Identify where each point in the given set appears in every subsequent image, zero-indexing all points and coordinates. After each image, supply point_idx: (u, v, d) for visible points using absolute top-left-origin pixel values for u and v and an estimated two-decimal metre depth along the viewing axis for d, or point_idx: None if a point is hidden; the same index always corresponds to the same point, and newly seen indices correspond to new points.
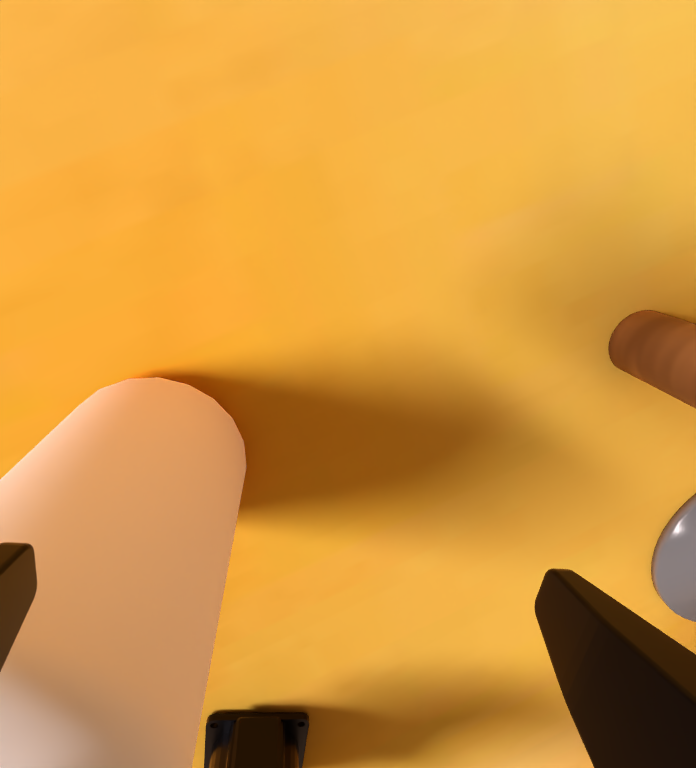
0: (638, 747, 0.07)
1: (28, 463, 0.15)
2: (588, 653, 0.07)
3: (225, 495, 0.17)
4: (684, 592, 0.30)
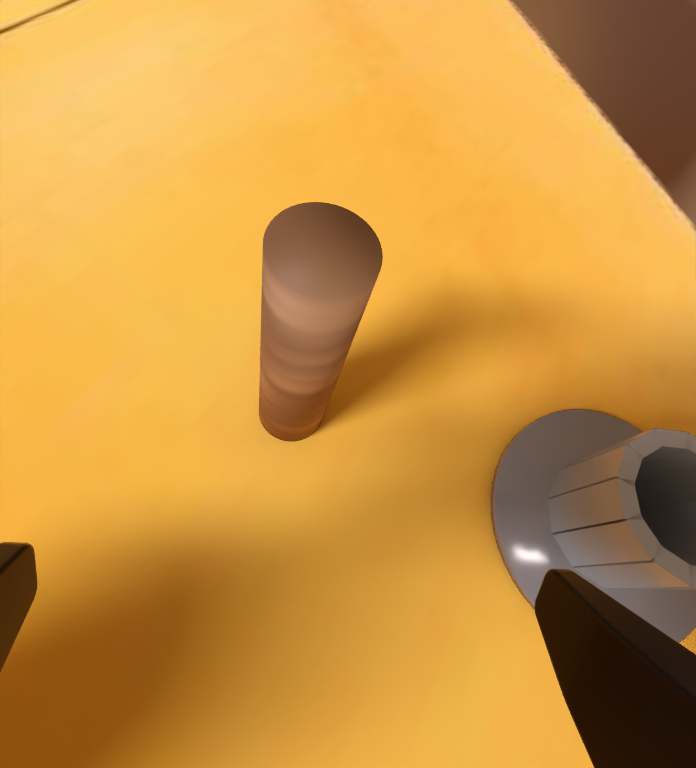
0: (638, 747, 0.07)
1: None
2: (588, 653, 0.07)
3: None
4: None
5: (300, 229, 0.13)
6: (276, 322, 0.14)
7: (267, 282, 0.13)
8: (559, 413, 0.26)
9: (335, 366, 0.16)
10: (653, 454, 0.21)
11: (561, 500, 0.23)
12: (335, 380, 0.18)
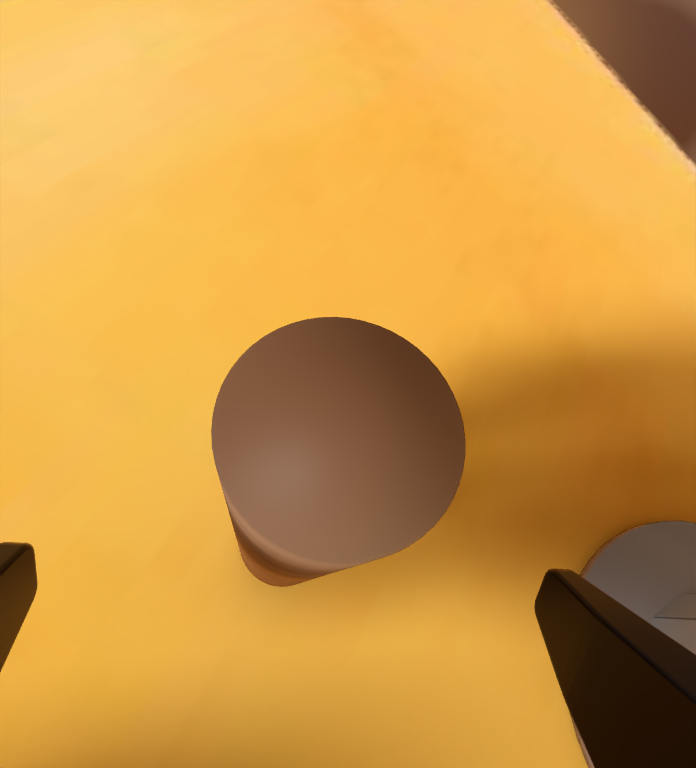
0: (638, 747, 0.07)
1: None
2: (588, 653, 0.07)
3: None
4: None
5: (294, 383, 0.06)
6: (247, 539, 0.07)
7: (225, 493, 0.06)
8: (646, 528, 0.19)
9: None
10: None
11: None
12: None
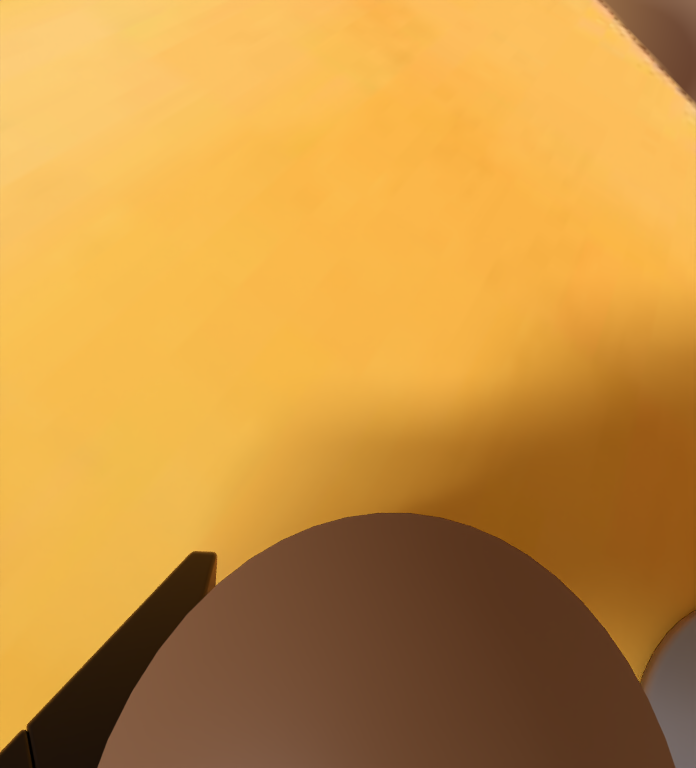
0: None
1: None
2: None
3: None
4: None
5: (289, 715, 0.02)
6: None
7: None
8: None
9: None
10: None
11: None
12: None
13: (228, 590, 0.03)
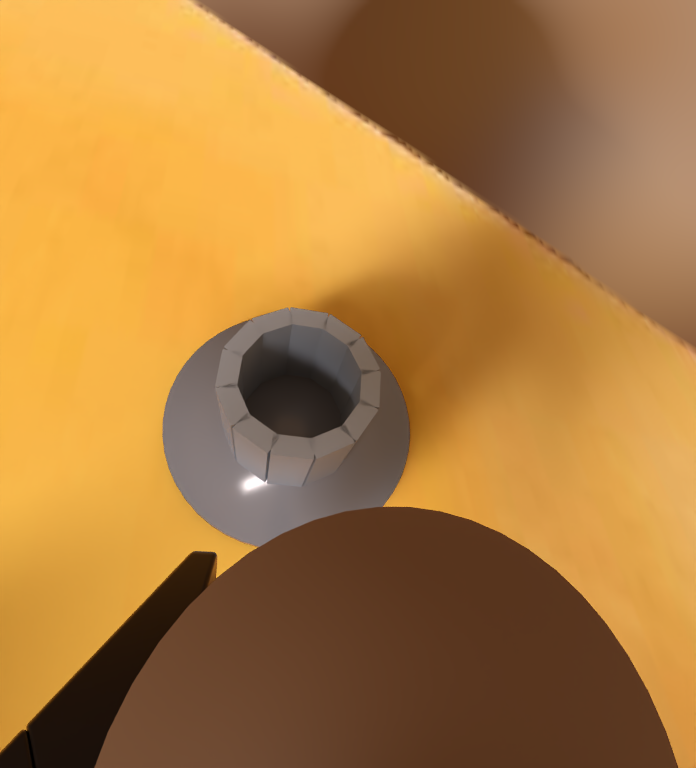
0: None
1: None
2: None
3: None
4: (310, 516, 0.21)
5: (290, 708, 0.02)
6: None
7: None
8: (216, 337, 0.24)
9: None
10: (275, 342, 0.20)
11: (223, 426, 0.21)
12: None
13: (229, 583, 0.03)
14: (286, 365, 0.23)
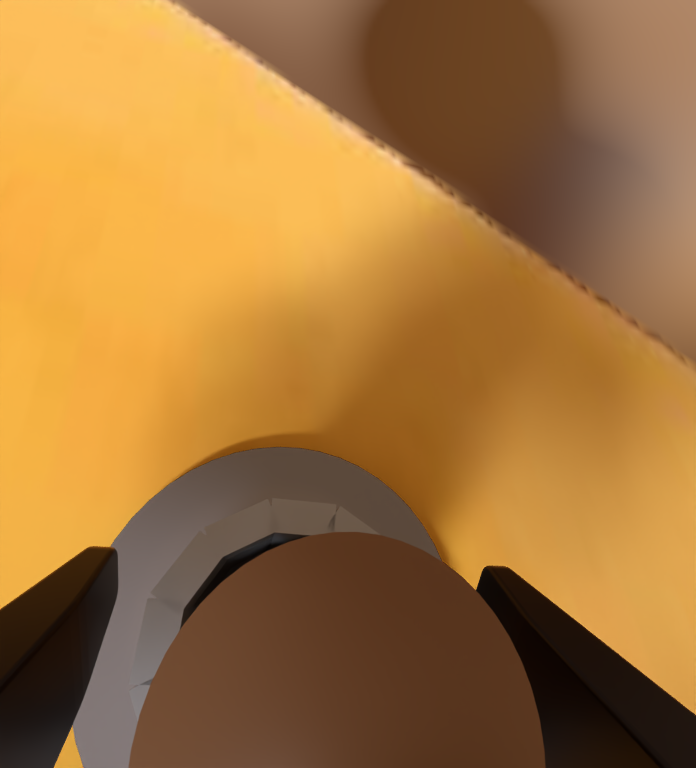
0: (555, 748, 0.06)
1: None
2: None
3: None
4: None
5: (270, 669, 0.04)
6: None
7: None
8: (165, 491, 0.16)
9: None
10: (247, 549, 0.12)
11: None
12: None
13: (229, 586, 0.04)
14: (270, 546, 0.15)
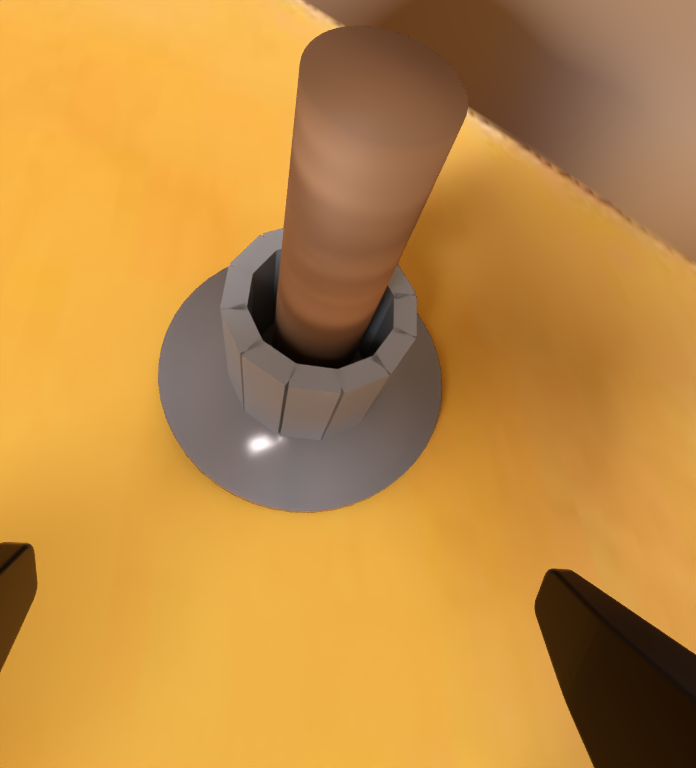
0: (638, 747, 0.07)
1: None
2: (588, 653, 0.07)
3: None
4: (331, 473, 0.18)
5: (351, 56, 0.09)
6: (311, 204, 0.10)
7: (304, 133, 0.09)
8: (219, 274, 0.21)
9: (380, 285, 0.12)
10: None
11: (229, 368, 0.18)
12: (373, 312, 0.14)
13: (332, 31, 0.09)
14: None
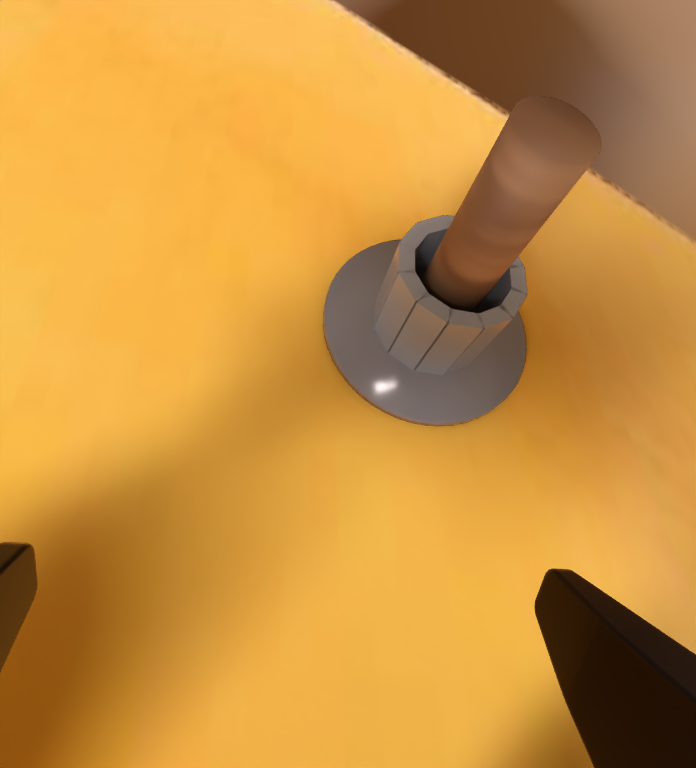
0: (638, 747, 0.07)
1: None
2: (588, 653, 0.07)
3: None
4: (453, 398, 0.25)
5: (536, 114, 0.16)
6: (501, 197, 0.17)
7: (510, 156, 0.16)
8: (358, 255, 0.28)
9: (520, 251, 0.19)
10: (429, 246, 0.24)
11: (380, 321, 0.25)
12: None
13: (524, 99, 0.16)
14: None
